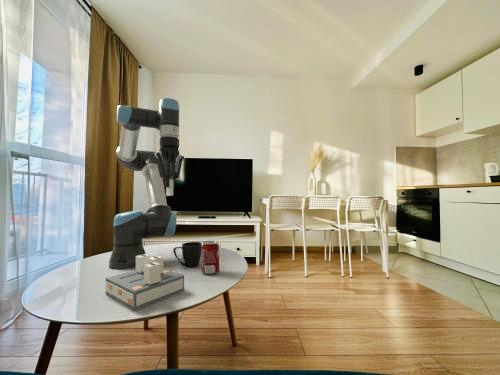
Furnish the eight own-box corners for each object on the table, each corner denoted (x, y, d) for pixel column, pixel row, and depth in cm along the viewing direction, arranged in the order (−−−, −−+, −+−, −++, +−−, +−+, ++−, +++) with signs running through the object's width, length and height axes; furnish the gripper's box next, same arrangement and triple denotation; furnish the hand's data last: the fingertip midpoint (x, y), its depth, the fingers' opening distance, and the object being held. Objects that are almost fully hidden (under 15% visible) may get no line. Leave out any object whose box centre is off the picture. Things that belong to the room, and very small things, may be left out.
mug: (170, 266, 102) (170, 244, 102) (197, 262, 109) (197, 241, 109) (176, 271, 95) (176, 247, 95) (204, 266, 102) (204, 244, 102)
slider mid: (148, 273, 77) (148, 257, 77) (158, 271, 80) (158, 255, 80) (153, 275, 75) (153, 259, 75) (163, 272, 78) (163, 256, 78)
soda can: (215, 276, 89) (215, 244, 90) (198, 275, 91) (198, 243, 91) (221, 270, 96) (221, 240, 96) (205, 269, 97) (205, 240, 98)
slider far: (135, 271, 80) (135, 255, 80) (145, 268, 82) (145, 253, 83) (140, 272, 78) (140, 256, 78) (150, 270, 81) (150, 254, 81)
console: (104, 294, 74) (104, 277, 74) (153, 279, 87) (153, 265, 87) (133, 311, 63) (133, 292, 63) (184, 291, 76) (184, 274, 76)
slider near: (143, 282, 69) (143, 264, 70) (154, 278, 72) (154, 261, 72) (149, 284, 68) (149, 266, 68) (160, 281, 70) (160, 263, 70)
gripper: (160, 133, 90) (160, 195, 89) (188, 139, 100) (188, 195, 100) (149, 136, 95) (149, 195, 94) (177, 141, 105) (177, 195, 104)
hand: (169, 195), depth 97 cm, fingers closed
